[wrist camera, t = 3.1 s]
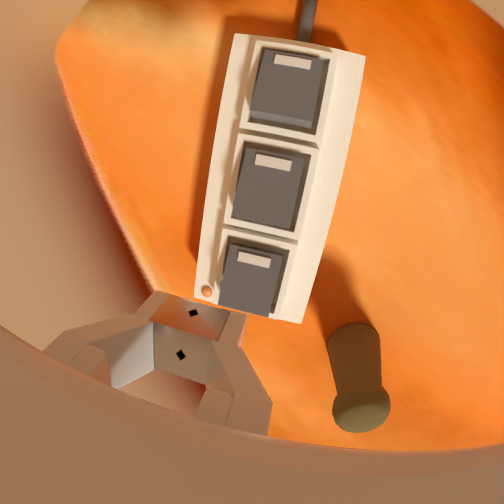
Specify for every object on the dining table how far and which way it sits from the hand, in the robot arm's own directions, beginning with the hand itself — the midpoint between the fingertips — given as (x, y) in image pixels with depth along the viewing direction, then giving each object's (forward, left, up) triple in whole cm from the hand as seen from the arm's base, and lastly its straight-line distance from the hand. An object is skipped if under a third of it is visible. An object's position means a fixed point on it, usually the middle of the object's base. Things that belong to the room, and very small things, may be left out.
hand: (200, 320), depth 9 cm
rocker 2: (0, -2, -13) cm, 14 cm away
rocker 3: (0, +5, -13) cm, 14 cm away
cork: (-12, +13, -20) cm, 27 cm away
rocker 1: (0, -9, -13) cm, 16 cm away
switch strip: (0, -5, -19) cm, 20 cm away
